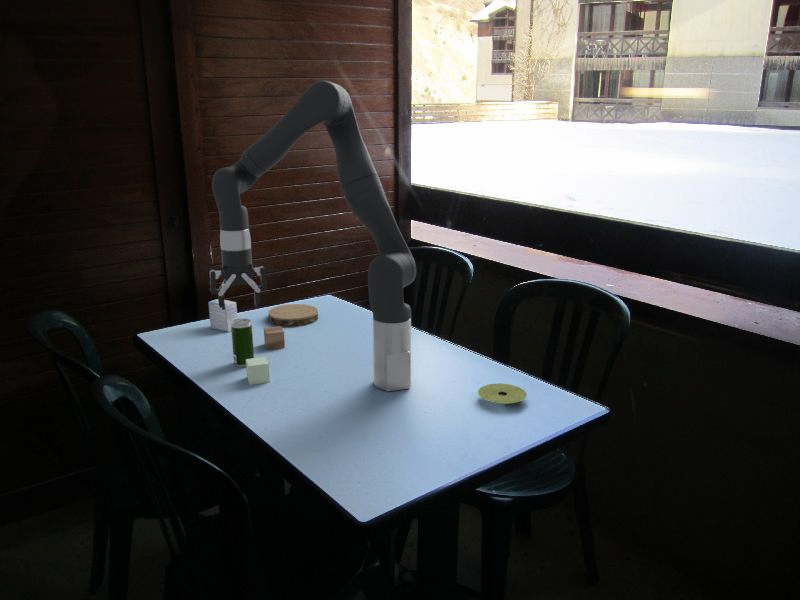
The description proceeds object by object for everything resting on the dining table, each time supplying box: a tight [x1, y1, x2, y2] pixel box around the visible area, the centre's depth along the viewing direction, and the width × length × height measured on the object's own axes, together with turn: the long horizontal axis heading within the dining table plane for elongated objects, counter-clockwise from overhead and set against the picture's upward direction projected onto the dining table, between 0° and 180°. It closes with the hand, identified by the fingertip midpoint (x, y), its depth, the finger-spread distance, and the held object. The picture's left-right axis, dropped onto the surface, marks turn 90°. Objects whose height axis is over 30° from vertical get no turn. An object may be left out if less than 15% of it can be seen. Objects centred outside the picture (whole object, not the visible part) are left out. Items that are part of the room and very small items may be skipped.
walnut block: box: [263, 326, 286, 351], centre depth 189 cm, size 5×5×5 cm
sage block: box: [245, 356, 271, 386], centre depth 166 cm, size 5×5×5 cm
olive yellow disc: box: [477, 382, 528, 405], centre depth 154 cm, size 11×11×2 cm
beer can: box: [230, 318, 255, 368], centre depth 175 cm, size 5×5×12 cm
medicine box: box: [208, 298, 239, 333], centre depth 204 cm, size 8×4×9 cm, turn 58°
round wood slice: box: [267, 303, 319, 328], centre depth 214 cm, size 16×16×3 cm
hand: (240, 307), depth 172 cm, fingers open, 8 cm apart
